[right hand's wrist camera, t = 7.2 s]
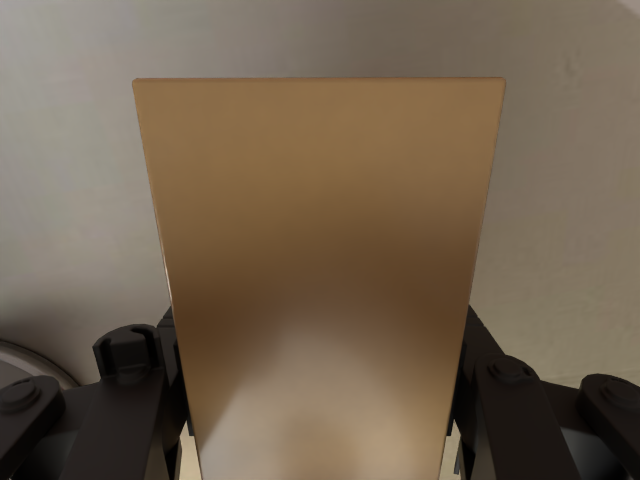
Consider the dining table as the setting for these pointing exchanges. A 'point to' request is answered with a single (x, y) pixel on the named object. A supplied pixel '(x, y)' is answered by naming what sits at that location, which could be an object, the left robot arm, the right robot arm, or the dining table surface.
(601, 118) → the dining table surface
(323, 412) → the bar
